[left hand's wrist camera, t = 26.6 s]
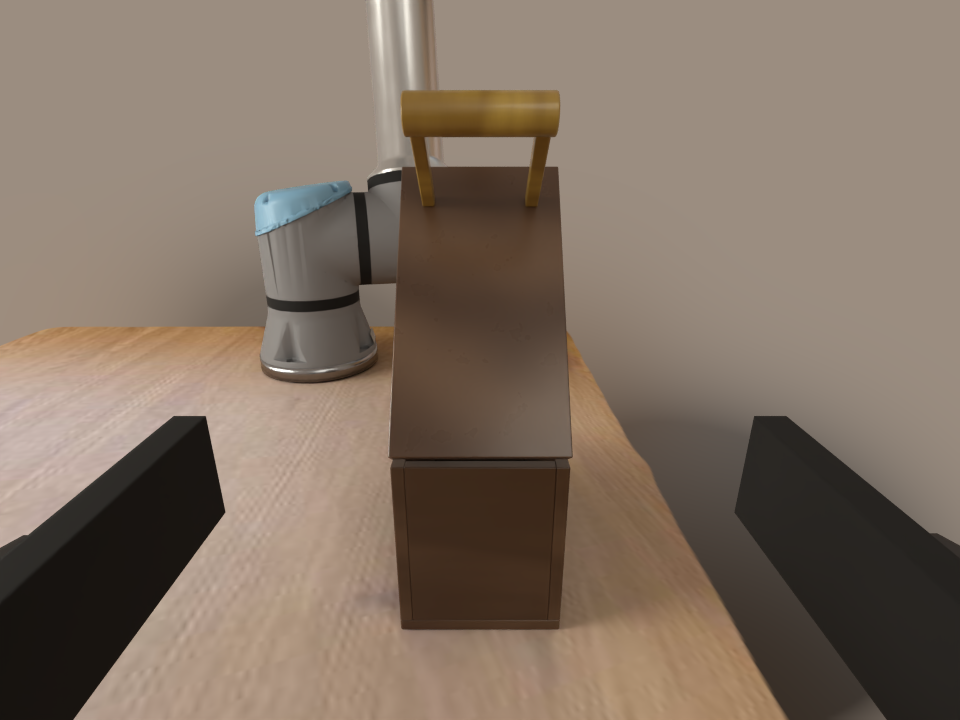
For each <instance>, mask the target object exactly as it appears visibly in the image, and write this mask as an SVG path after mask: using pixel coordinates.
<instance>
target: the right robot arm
mask: <svg viewBox="0 0 960 720" xmlns="http://www.w3.org/2000/svg"><path fill="white" fill-rule="evenodd" d="M365 5H366V18H367V31H368V43H369V56H370V68H371V81H372V94H373V106H374V119H375V132H376V144H377V157H378V165H377V167H376V168H375V169H374V170H373V172H372V173H371V174H370V175H369V176H368V178H367V182H368V192H359V193H358V192H357V193H352V192H351V191H352V187H351V186H350V183H349V182H348V181H336V182H327V183H320V184H312V185H305V186H299V187H292V188H286V189H280V190H274V191H269V192H265V193H263V194H261V195H260V196H259V197H258V198H257V199H256V202H255V206H254V209H255V221H256V231H255V235H256V236H257V237H258V244H259V250H260V257H261V264H262V271H263V277H264V284H265V291H266V298H267V304H268V317H267V322H266V327H265V332H264V337H263V342H262V347H261V353H260V360H261V367H262V371H263V372H264V373H265V374H266V375H267V376H269V377H271V378H274V379H277V380H282V381H288V382H322V381H330V380H336V379H341V378H345V377H349V376H352V375H355V374H358V373H360V372H363V371H365V370H367V369H368V368H370V367H371V366H373V365H374V364H375V363H376V361H377V359H378V353H377V343H376V341H375V337H376V336H375V334H374V331H373V329H372V328H371V329H370V327H369V325H368V322H367V320H366V317H365V315H364V313H363V310H362V308H361V305H360V298H359V285H366V284H389V283H396V281H397V260H398V239H399V219H400V198H401V177H402V167H415V162H414V157H413V152H412V146H411V141H410V137H405V136H404V134H403V130H402V123H401V110H400V100H401V93H402V91H403V90H439V79H438V64H437V48H436V33H435V18H434V3H433V0H365ZM426 138H427V145H428V152H429V159H430V166H431V167H448V166H447V165H446V164H445V163H444V156H443V140H442V137H426Z"/></svg>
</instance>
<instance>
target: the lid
mask: <svg viewBox="0 0 960 720" xmlns="http://www.w3.org/2000/svg"><path fill="white" fill-rule="evenodd" d="M400 110H401V123H402V130H403V134H404V136H405V137H410V141H411V146H412V152H413V157H414V162H415V167H402V177H401V198H400V219H399V239H398V260H397V281H396V302H395V322H394V343H393V364H392V385H391V405H390V426H389V447H388V458H390V459H570V458H572V457H573V456H572V436H571V416H570V396H569V376H568V355H567V335H566V316H565V296H564V275H563V255H562V235H561V215H560V195H559V175H558V167H545V164H546V159H547V154H548V149H549V143H550V138H551V137H555V136H556V135H557V132H558V127H559V119H560V94H559V91H557V90H403V91H402V93H401V100H400ZM426 137H534V140H533V147H532V154H531V161H530V167H431V166H430V159H429V152H428V145H427V138H426Z"/></svg>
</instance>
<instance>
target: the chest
mask: <svg viewBox="0 0 960 720" xmlns="http://www.w3.org/2000/svg"><path fill="white" fill-rule="evenodd" d="M390 471H391V485H392V500H393V514H394V529H395V543H396V557H397V572H398V586H399V601H400V615H401V628H402V629H559V621H560V620H559V619H560V608H561V593H562V579H563V565H564V550H565V536H566V521H567V507H568V493H569V478H570V466H569V462H568V459H393V461H392V464H391V468H390Z"/></svg>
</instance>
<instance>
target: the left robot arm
mask: <svg viewBox="0 0 960 720" xmlns="http://www.w3.org/2000/svg"><path fill="white" fill-rule="evenodd" d="M224 514H225V508H224V503H223V498H222V493H221V488H220V483H219V478H218V474H217V469H216V464H215V459H214V454H213V449H212V444H211V439H210V435H209V430H208V425H207V420H206V416H173V417H172V418H171V419H170V420H168V421H167V422H166V423H165V424H164V425H162V426H161V427H160V428H159V429H157V430H156V431H155V432H154V433H153V434H151V435H150V436H149V437H148V438H146V439H145V440H144V441H143V442H142V443H140V444H139V445H138V446H137V447H135V448H134V449H133V450H132V451H131V452H129V453H128V454H127V455H126V456H124V457H123V458H122V459H121V460H120V461H118V462H117V463H116V464H115V465H113V466H112V467H111V468H110V469H109V470H107V471H106V472H105V473H104V474H102V475H101V476H100V477H99V478H98V479H96V480H95V481H94V482H93V483H91V484H90V485H89V486H88V487H87V488H85V489H84V490H83V491H82V492H80V493H79V494H78V495H77V496H76V497H74V498H73V499H72V500H71V501H69V502H68V503H67V504H66V505H65V506H63V507H62V508H61V509H60V510H58V511H57V512H56V513H55V514H54V515H52V516H51V517H50V518H49V519H47V520H46V521H45V522H44V523H43V524H41V525H40V526H39V527H38V528H36V529H35V530H34V531H33V532H32V533H30V534H29V535H23V536H21V537H19V538H18V539H16V540H14V541H12V542H10V543H8V544H7V545H5V546H3V547H1V548H0V720H73V719H74V718H75V717H76V715H77V714H78V712H79V711H80V710H81V708H82V707H83V706H84V704H85V703H86V702H87V700H88V699H89V697H90V696H91V695H92V693H93V692H94V691H95V689H96V688H97V687H98V685H99V684H100V682H101V681H102V680H103V678H104V677H105V676H106V674H107V673H108V672H109V670H110V669H111V667H112V666H113V665H114V663H115V662H116V661H117V659H118V658H119V657H120V655H121V654H122V653H123V651H124V650H125V648H126V647H127V646H128V644H129V643H130V642H131V640H132V639H133V638H134V636H135V635H136V633H137V632H138V631H139V629H140V628H141V627H142V625H143V624H144V623H145V621H146V620H147V618H148V617H149V616H150V614H151V613H152V612H153V610H154V609H155V608H156V606H157V605H158V603H159V602H160V601H161V599H162V598H163V597H164V595H165V594H166V593H167V591H168V590H169V589H170V587H171V586H172V584H173V583H174V582H175V580H176V579H177V578H178V576H179V575H180V574H181V572H182V571H183V569H184V568H185V567H186V565H187V564H188V563H189V561H190V560H191V559H192V557H193V556H194V554H195V553H196V552H197V550H198V549H199V548H200V546H201V545H202V544H203V542H204V541H205V539H206V538H207V537H208V535H209V534H210V533H211V531H212V530H213V529H214V527H215V526H216V524H217V523H218V522H219V520H220V519H221V518H222V516H223V515H224ZM735 514H736V515H737V516H738V518H739V519H740V520H741V522H742V523H743V524H744V526H745V527H746V529H747V530H748V531H749V533H750V534H751V535H752V537H753V538H754V539H755V541H756V542H757V544H758V545H759V546H760V548H761V549H762V550H763V552H764V553H765V554H766V556H767V557H768V559H769V560H770V561H771V563H772V564H773V565H774V567H775V568H776V569H777V571H778V572H779V574H780V575H781V576H782V578H783V579H784V580H785V582H786V583H787V584H788V586H789V587H790V589H791V590H792V591H793V593H794V594H795V595H796V597H797V598H798V599H799V601H800V602H801V603H802V605H803V606H804V608H805V609H806V610H807V612H808V613H809V614H810V616H811V617H812V618H813V620H814V621H815V622H816V624H817V625H818V627H819V628H820V629H821V631H822V632H823V633H824V635H825V636H826V638H827V639H828V640H829V642H830V643H831V644H832V646H833V647H834V648H835V650H836V651H837V653H838V654H839V655H840V657H841V658H842V659H843V661H844V662H845V663H846V665H847V666H848V667H849V669H850V670H851V672H852V673H853V674H854V676H855V677H856V678H857V680H858V681H859V682H860V684H861V685H862V686H863V688H864V689H865V691H866V692H867V693H868V695H869V696H870V697H871V699H872V700H873V702H874V703H875V704H876V706H877V707H878V708H879V710H880V711H881V712H882V714H883V715H884V717H885V718H886V719H887V720H960V546H959V545H958V544H956V543H954V542H952V541H950V540H948V539H946V538H945V537H943V536H941V535H939V534H937V533H935V534H934V533H932V534H930V533H928V532H927V531H926V530H925V529H924V528H922V527H921V526H920V525H919V524H917V523H916V522H915V521H914V520H913V519H911V518H910V517H909V516H908V515H906V514H905V513H904V512H903V511H902V510H900V509H899V508H898V507H897V506H895V505H894V504H893V503H892V502H891V501H889V500H888V499H887V498H886V497H884V496H883V495H882V494H881V493H880V492H878V491H877V490H876V489H875V488H873V487H872V486H871V485H870V484H869V483H867V482H866V481H865V480H864V479H862V478H861V477H860V476H859V475H858V474H856V473H855V472H854V471H853V470H851V469H850V468H849V467H848V466H847V465H845V464H844V463H843V462H842V461H840V460H839V459H838V458H837V457H836V456H834V455H833V454H832V453H831V452H829V451H828V450H827V449H826V448H825V447H823V446H822V445H821V444H820V443H818V442H817V441H816V440H815V439H814V438H812V437H811V436H810V435H809V434H807V433H806V432H805V431H804V430H802V429H801V428H800V427H799V426H798V425H796V424H795V423H794V422H793V421H792V420H790V419H789V418H788V417H787V416H754V420H753V425H752V430H751V435H750V439H749V444H748V449H747V454H746V459H745V464H744V469H743V474H742V479H741V484H740V488H739V493H738V498H737V503H736V508H735Z"/></svg>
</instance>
